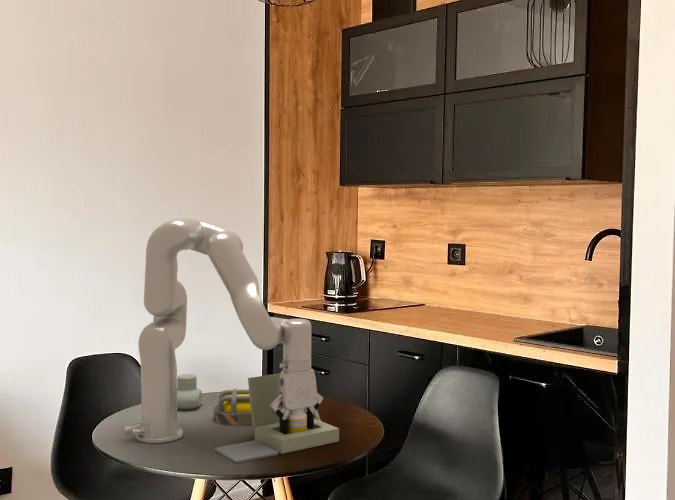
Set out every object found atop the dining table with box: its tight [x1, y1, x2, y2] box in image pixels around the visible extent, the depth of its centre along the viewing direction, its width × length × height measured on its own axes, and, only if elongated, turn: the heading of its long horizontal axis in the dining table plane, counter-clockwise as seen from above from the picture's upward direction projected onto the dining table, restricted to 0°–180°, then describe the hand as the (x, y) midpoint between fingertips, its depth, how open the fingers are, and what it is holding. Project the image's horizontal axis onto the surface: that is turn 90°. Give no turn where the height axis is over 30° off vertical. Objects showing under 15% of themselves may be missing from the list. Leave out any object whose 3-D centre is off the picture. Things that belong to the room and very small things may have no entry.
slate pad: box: [213, 439, 279, 464], centre depth 189 cm, size 12×12×1 cm
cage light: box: [213, 388, 316, 427], centre depth 220 cm, size 15×8×30 cm
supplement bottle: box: [287, 408, 307, 434], centre depth 199 cm, size 5×5×10 cm
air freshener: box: [177, 373, 203, 410], centre depth 231 cm, size 11×8×10 cm
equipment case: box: [247, 372, 340, 455], centre depth 200 cm, size 19×18×16 cm
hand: (296, 430), depth 199 cm, fingers open, 7 cm apart
